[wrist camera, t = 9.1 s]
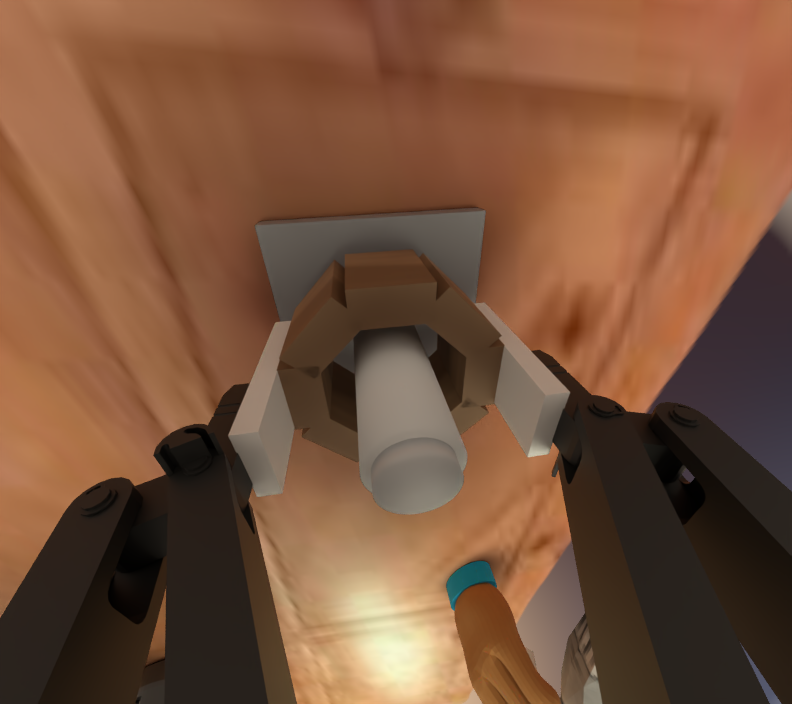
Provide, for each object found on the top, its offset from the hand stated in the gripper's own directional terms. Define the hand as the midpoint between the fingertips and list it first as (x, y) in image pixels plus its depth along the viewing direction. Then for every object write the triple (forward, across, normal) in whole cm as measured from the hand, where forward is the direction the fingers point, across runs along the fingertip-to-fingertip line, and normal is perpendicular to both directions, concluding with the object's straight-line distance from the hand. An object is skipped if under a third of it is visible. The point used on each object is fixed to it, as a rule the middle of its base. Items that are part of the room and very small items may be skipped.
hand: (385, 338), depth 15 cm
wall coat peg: (+3, 0, 0) cm, 3 cm away
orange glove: (+3, +9, -37) cm, 38 cm away
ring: (0, 0, 0) cm, 0 cm away
